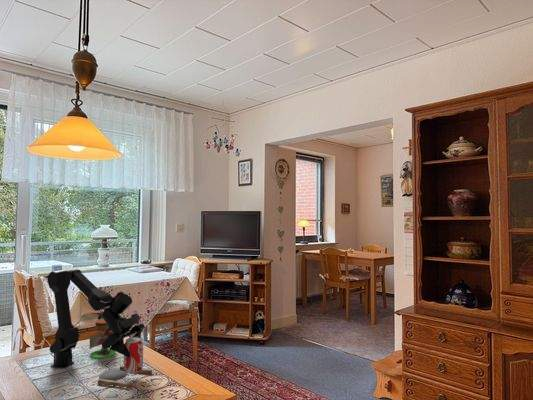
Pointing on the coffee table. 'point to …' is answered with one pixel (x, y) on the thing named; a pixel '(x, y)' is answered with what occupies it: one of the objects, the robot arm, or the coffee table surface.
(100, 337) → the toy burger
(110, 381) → the rail
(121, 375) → the coaster
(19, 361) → the coffee table surface
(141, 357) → the soda can
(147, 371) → the rail
